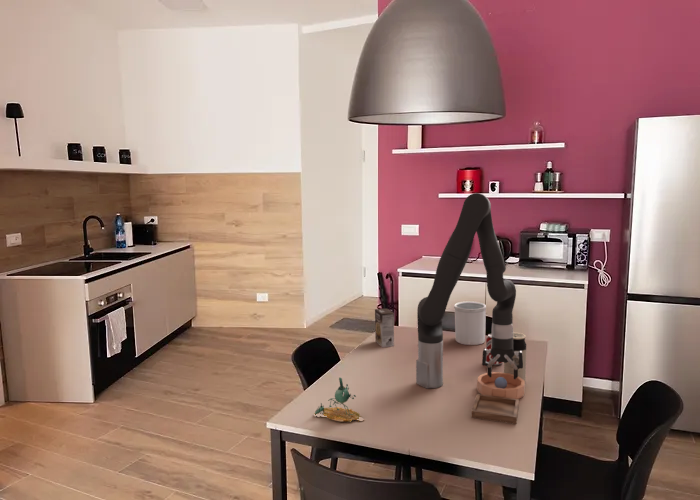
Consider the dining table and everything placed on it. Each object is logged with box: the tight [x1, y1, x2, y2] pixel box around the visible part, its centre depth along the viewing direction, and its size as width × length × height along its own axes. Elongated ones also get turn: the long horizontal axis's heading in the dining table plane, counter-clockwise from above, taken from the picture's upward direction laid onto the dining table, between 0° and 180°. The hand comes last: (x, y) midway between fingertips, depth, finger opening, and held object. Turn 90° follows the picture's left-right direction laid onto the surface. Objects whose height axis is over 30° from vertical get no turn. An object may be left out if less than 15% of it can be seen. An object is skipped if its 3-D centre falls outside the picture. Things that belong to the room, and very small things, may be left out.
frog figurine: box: [313, 377, 362, 423], centre depth 172 cm, size 10×18×15 cm, turn 68°
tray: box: [471, 393, 520, 425], centre depth 174 cm, size 14×14×2 cm
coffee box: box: [374, 308, 395, 348], centre depth 245 cm, size 9×6×16 cm
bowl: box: [476, 371, 526, 400], centre depth 190 cm, size 16×16×4 cm
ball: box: [495, 377, 507, 389], centre depth 190 cm, size 4×4×4 cm
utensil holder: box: [453, 300, 487, 346], centre depth 247 cm, size 15×15×18 cm
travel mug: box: [503, 331, 527, 382], centre depth 199 cm, size 8×8×18 cm
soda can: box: [485, 333, 504, 366], centre depth 218 cm, size 7×7×12 cm
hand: (502, 377), depth 190 cm, fingers open, 8 cm apart
